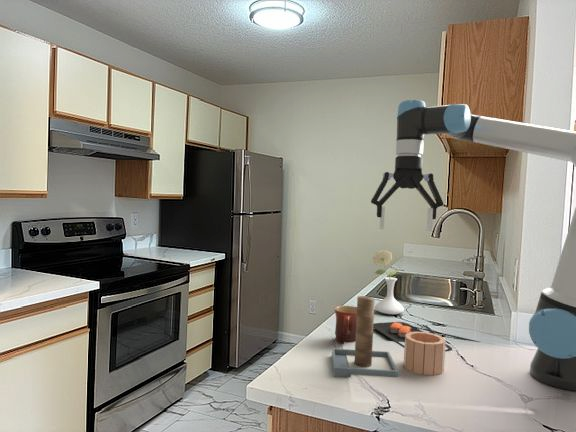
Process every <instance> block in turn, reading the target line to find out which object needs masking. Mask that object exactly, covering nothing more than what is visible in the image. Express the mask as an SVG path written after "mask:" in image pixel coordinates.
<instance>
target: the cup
mask: <svg viewBox="0 0 576 432" xmlns="http://www.w3.org/2000/svg"><path fill="white" fill-rule="evenodd" d="M445 344H447V343H446V339H445V337H443V336H440V334H437V333H435V334H433V333H432V332H428V331H427V332H426V331H423V332H409V333H407V334H406V335H405V342H404V346H405V347H403V348H404V349H403V350H404V351H403V366H404V368H405V369H406V370H408V371H410V372H411V373H414V374H418V375H422V376H423V375H424V376H438V375H441V374H443V372H445V358H446V351H445V350H446V346H445Z"/></svg>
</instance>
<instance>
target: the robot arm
mask: <svg viewBox="0 0 576 432" xmlns="http://www.w3.org/2000/svg"><path fill="white" fill-rule="evenodd" d="M425 135H445V136H448V137H451V138H452V139H455V140H458V141H462V142H463V141H467V142H473V143H478V144H482V145H486V146H487V145H488V146H492V147H497V148H501V149H507V150H511V151H515V152H520V153H521V152H522V153H526V154H531V155H536V156H540V157H541V156H542V157H545V158H549V159H556V160H561V161H565V162H570V163H572V164H573V166H574V168H576V131H572V130H567V129H562V128H555V127H551V126H543V125H536V124H531V123H524V122H519V121H513V120H507V119H501V118H496V117H489V116H488V117H487V116H483V115H477V114H472V113H471V110H470V107H469V106H468V105H467V104H466V103H451V104H446V105H436V106H426V102H425V101H423V100H421V99H408V100H407V99H406V100H403V101H401V102H399V104H398V108H397V116H396V142H395V143H396V144H395V145H396V146H395V155H397V156H396V157H395V159H394V160H395V162H394V163H395V164H394V172H393V173H392V172H389V171H386V172H383V174H382V180H381V181H380V183H379V185H378V187H377V189H376V191H375V193H374V195H373V196H372V198H371V201H370V203H371V204H373V205H375V206H376V217H377V218H379V229H380V230H384V229H385V214H386V213H385V212H386V211H385V209H386V208H385V207H386V206H383V205H384V204H385V203H386V202H387V201H388V200H389V198H390V197H391V196H392V195H393V194H394V193H395V192H396V191H397V190H398V189H399V188H401V189H415V190H416V191H418V192H419V195H421V196H422V197H423V199H424V200H425V201H426V203H427V204H428V205H429V206H430V207H428V208H427V216H426V217H427V218H426V219H427V220H426V231H428V232H433V220H436V218H437V209H438V208H439V207H443V206H444V202H443V199H442V197H441V195H440V192H439V190H438V188H437V186H436V183H435V181H434V174H433V173H427V174H423V161H424V160H423V157H422V156H423V154H424V139H425V138H424V136H425ZM392 178H393V180H394V181H395V183H394V184H392V186H391V187H390V188H389V190H387V192H386V193H384V195H383V196H382V197H381V198H380V196H381V194H382V193H383V191H384V189H385V187H386V185H387V183H388V181H391V179H392ZM423 179H424V181H425V182H426V183H427V185H428V188H429V190H430V192H431V194H432V196H433V198H432V197H431V196H430V194H429V193H428V192H427V190H426V189H425V188H424V186H423V185H422V184H421V182H422V181H423ZM379 198H380V199H379ZM558 260H559V261H558V263H557V267H556V269H555V272H554V276H553V279H552V281H551V284H550V286H547V287H545V288H543V289H542V290H541V292H540V296H539V299H538V302H537V305H536V309H535V312H534V314H533V315H532V317H530V319H529V323H528V334H529V337H530V340H531V341H532V343H533V345H535V347H537V349H536V352H535V354H534V356H533V358H532V360H531V362H530V365H529V366H530V367H529V374H530V375H531V376H532V377H533V378H535V379H536V380H537V381H539V382H541V383H544V384H546V385H548V386H552V387H555V388H559V389H562V390H567V391H574V392H576V207H575V208H574V212H573V214H572V218H571V222H570V224H569V228H568V231H567V234H566V237H565V241H564V243H563V247H562V251H561V254H560V257H559V259H558Z"/></svg>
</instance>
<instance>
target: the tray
mask: <svg viewBox="0 0 576 432" xmlns="http://www.w3.org/2000/svg"><path fill="white" fill-rule="evenodd" d="M347 355H353V356H355V349H346V348H331V360H332V369H333V377H341V378H352V376H351V375H368V376H384V377H385V376H386V377H387V376H388V377H399V370H398V368H397V366H396V363H395V361H394V360H393V357H392V355H391V353H390V351H383V350H382V351H381V350H380V351H379V350H372V357H384V358H385V357H386V358H387V360H388V362H389V364H390V366H391V369H375V368H373V369H372V368H363V367H361V368H359V367H350V366H349V361H348V356H347Z"/></svg>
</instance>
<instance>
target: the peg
mask: <svg viewBox="0 0 576 432" xmlns="http://www.w3.org/2000/svg"><path fill="white" fill-rule="evenodd" d="M375 301H376V299H375V297H372V296H367V295H361V296H358V297H357V303H356V307H357V320H356V341H355V343H354V344H355V345H354V350H355V355H354V365H355V366H357V367H361V368H369V367H371V366H372V361H373V356H372V351H373V338H374V328H373V324H374V321H375Z"/></svg>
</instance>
